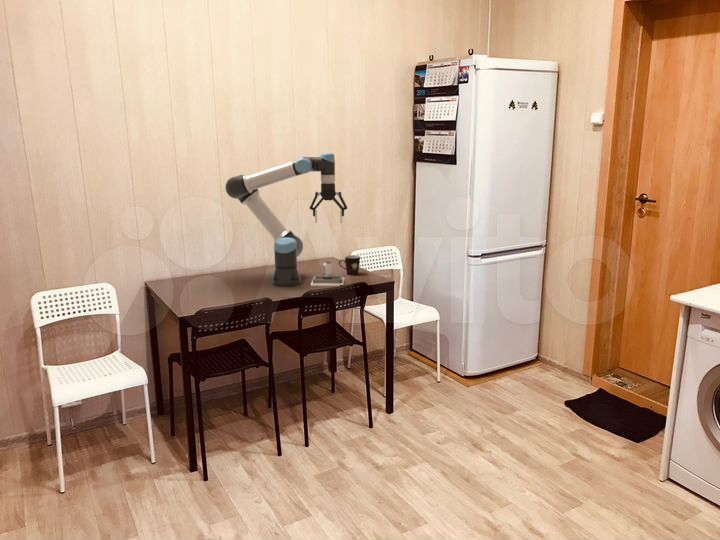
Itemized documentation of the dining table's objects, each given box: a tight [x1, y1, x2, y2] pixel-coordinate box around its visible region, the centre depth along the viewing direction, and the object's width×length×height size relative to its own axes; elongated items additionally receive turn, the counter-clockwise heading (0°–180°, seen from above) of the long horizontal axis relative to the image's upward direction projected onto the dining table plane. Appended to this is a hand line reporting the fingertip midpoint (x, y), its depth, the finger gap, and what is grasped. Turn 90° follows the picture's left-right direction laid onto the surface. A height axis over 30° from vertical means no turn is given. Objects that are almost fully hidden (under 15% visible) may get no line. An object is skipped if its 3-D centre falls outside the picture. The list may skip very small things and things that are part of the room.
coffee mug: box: [338, 254, 361, 276], centre depth 324 cm, size 12×9×10 cm
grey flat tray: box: [310, 275, 345, 287], centre depth 306 cm, size 17×16×2 cm
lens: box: [321, 261, 334, 279], centre depth 305 cm, size 6×6×10 cm
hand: (328, 222), depth 309 cm, fingers open, 13 cm apart
